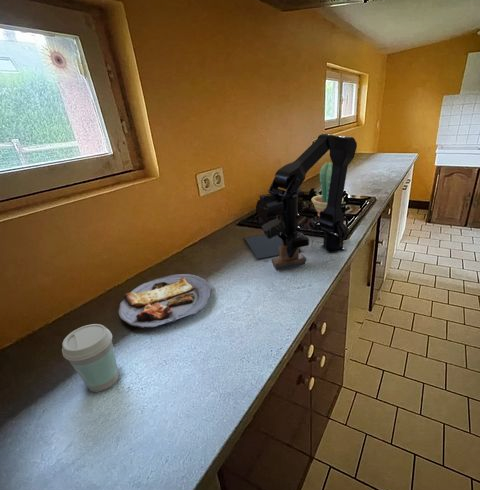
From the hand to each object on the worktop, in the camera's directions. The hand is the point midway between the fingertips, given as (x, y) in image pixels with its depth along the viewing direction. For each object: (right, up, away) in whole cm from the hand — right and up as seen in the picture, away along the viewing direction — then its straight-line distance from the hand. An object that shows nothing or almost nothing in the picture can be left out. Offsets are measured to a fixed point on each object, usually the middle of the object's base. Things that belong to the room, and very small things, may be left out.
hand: (289, 255), depth 100 cm
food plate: (-36, -14, -13) cm, 41 cm away
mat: (-6, +4, +19) cm, 21 cm away
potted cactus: (+21, +21, +48) cm, 56 cm away
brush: (0, -3, +2) cm, 4 cm away
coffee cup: (-41, -27, -37) cm, 61 cm away
